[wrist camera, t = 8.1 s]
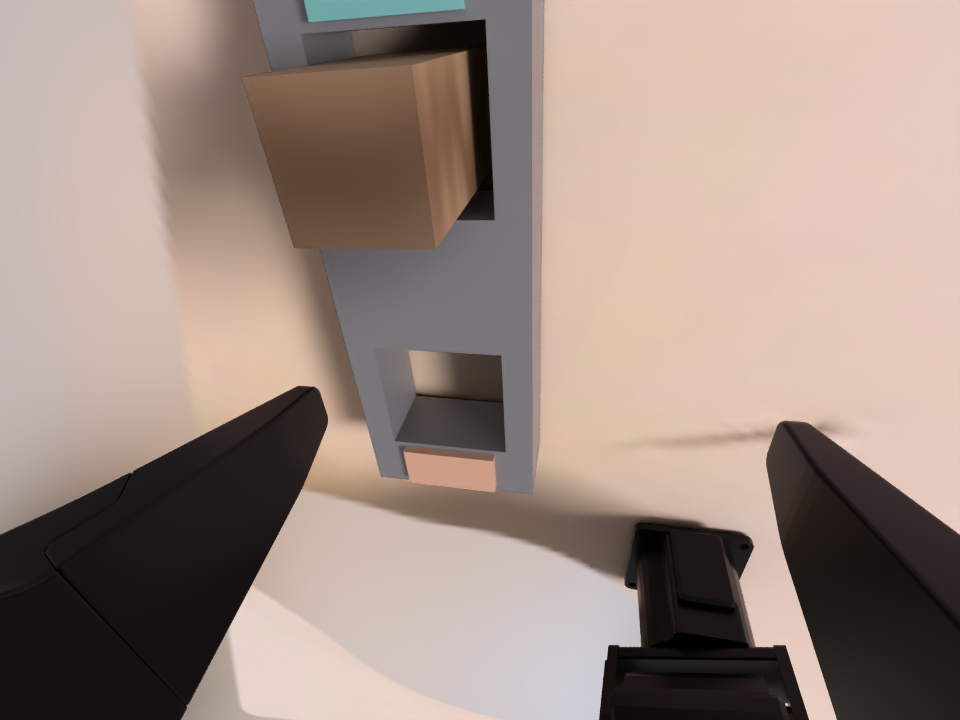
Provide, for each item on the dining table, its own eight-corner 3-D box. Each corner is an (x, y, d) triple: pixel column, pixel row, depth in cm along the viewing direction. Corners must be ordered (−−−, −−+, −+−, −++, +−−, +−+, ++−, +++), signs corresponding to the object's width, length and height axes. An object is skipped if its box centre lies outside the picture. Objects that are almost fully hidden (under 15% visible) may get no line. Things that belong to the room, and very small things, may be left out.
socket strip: (539, 443, 26) (531, 500, 23) (402, 430, 28) (378, 482, 25) (545, -102, 14) (529, -136, 11) (295, -70, 15) (219, -92, 12)
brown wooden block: (491, 168, 19) (435, 249, 12) (394, 171, 19) (294, 247, 13) (485, 45, 16) (411, 64, 10) (375, 54, 17) (241, 77, 11)
